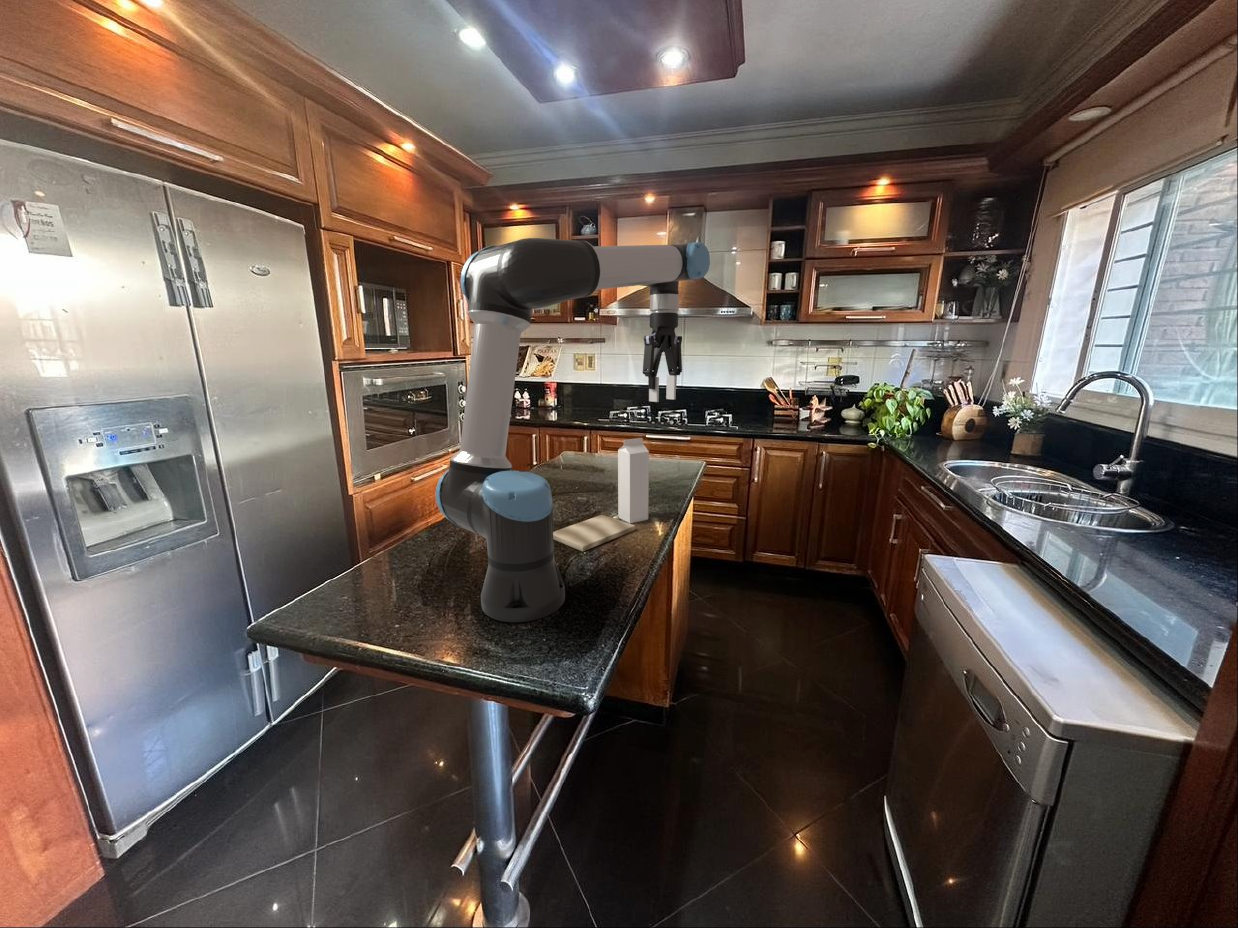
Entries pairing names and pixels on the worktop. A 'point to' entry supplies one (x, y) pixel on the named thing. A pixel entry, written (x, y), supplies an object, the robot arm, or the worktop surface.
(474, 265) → the robot arm
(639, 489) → the white carton-shaped block
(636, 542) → the worktop surface
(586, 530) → the board
